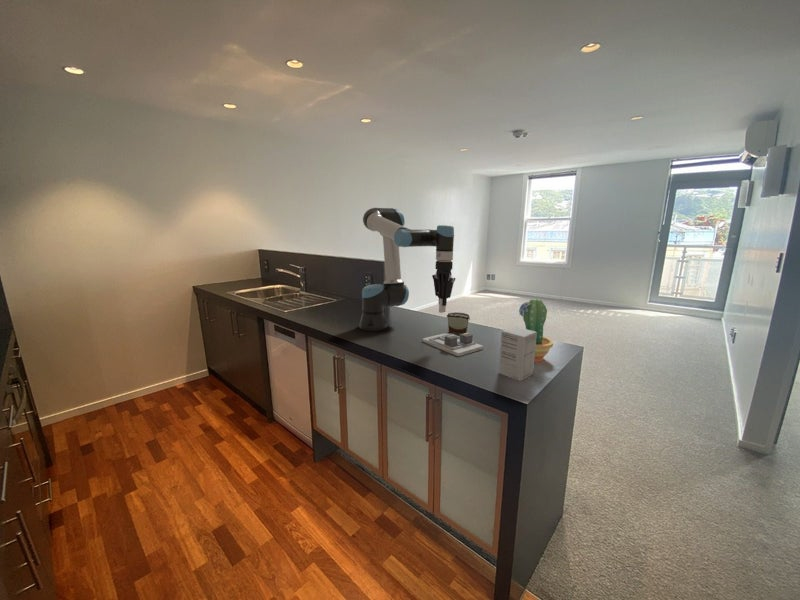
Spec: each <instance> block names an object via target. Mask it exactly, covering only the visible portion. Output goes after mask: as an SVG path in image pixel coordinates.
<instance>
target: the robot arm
mask: <svg viewBox="0 0 800 600" xmlns="http://www.w3.org/2000/svg"><path fill="white" fill-rule="evenodd" d="M362 222H363V225H364V228H366V229H368V230H369V231H372V232H378V233H379V235H380V236H381V237H382V244H383V259H384V274H385V280H384V281H383V284H382V283H381V284H380V283H375V284H369V285H365V286H364V287H363V288H362V289H361V301H362V302H361V308H362V309H361V310H362V314H361V317H360V321H359V330H362V331H367V332H378V331H379V332H380V331H383V330H386V329H387V328H388V323H387V319H386V317H385V312H384V309H385V308H391V307H399V306H403V305H405V304H406V303H407V302H408V300H409V297H410V291H409V290H410V289H409V288H408V286H407V285H406V284H405V281H404V280H403V279H402V273H401V258H400V248H409V247H411V248H413V247H436V249H435V260H436V261H435V266H434V267H435V270H436V271H435V274H432V276H431V277H432V280H433V284H434V285H433V286H434V294H435V297H437V298H438V313H439V314H440V313H441V314H442V313H446V308H447V307H446V306H447V299H449V298H451V296H452V291H453V288H454V283H455V281H456V277H453V276H452V274H453V273H452V270H453V260H454V242H455V241H454V240H455V229H454V228H455V227H454V226H453V225H449V224H448V225H444V224H443V225H440V224H439V225H437V226H436V229H410V228H407V227H405V224H406V223H405V216H404V214H403V212H402V211H401V210H400V209H398V208H393V207H391V208H389V207H371V208H370V209H367V210H366V211H365V213H364V214H363V218H362Z"/></svg>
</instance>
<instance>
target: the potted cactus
mask: <svg viewBox="0 0 800 600" xmlns="http://www.w3.org/2000/svg"><path fill="white" fill-rule="evenodd" d="M518 312H519V315H520V316H521V317H522V319H523V323H524V325H525V329H527V330H531V331H535V332H537V337H536V348H535V359H534V363H537V362H543V361H544V359H545V358H544V357H545V356H546V355H548V354H549V351H550V349H551V348H553V346H554V340H553V339H551V338H549V337H547V336H544V325H545V322H546V321H547V320H546V319H547V314H548V310H547V307H546V305H545V303H544V302H543V301H542V299H540V300H539V299H538V298H537V299H533V298H532V299H530V300H529V301H526V302H523V303H522V304H521V305H520V306H519V310H518Z"/></svg>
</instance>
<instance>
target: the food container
mask: <svg viewBox="0 0 800 600" xmlns="http://www.w3.org/2000/svg"><path fill="white" fill-rule="evenodd" d="M446 318H447V328H448V329H447V330H448V333H449V332H452V333H451V334H457V333H458V335H460V334H464V333H468V329H469V328H468V326H469V321H470V320H471V317H470V314H469V313H465V312H458V311H457V312H456V311H455V312H448V313H447V314H446Z"/></svg>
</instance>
